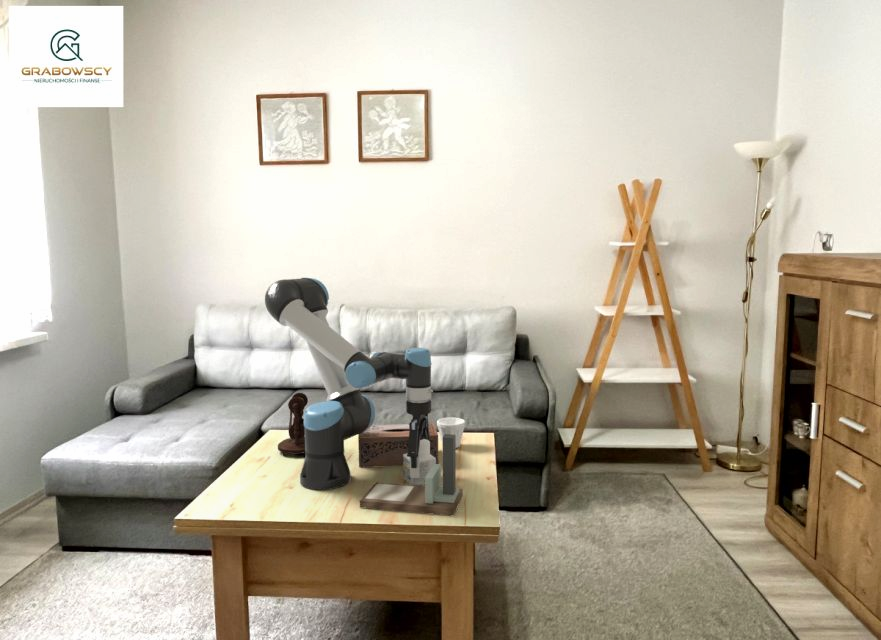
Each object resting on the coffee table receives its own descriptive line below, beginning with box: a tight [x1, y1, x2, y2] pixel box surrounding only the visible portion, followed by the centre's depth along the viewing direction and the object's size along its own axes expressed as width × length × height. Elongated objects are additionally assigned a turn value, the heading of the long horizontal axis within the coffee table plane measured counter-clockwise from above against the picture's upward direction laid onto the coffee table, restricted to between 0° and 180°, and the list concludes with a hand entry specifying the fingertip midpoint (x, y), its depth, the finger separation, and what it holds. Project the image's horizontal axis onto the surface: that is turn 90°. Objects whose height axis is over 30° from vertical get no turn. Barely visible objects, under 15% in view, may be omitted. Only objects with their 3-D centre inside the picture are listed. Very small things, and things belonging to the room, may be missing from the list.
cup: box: [436, 417, 466, 449], centre depth 225 cm, size 10×10×9 cm
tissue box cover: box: [357, 422, 439, 468], centre depth 212 cm, size 26×14×10 cm, turn 96°
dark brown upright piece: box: [277, 392, 309, 457], centre depth 220 cm, size 15×15×20 cm
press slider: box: [424, 434, 460, 504], centre depth 174 cm, size 8×11×17 cm
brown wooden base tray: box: [359, 481, 464, 516], centre depth 177 cm, size 26×14×2 cm, turn 78°
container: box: [402, 437, 436, 486], centre depth 192 cm, size 8×8×13 cm
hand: (419, 471), depth 193 cm, fingers closed on container, 10 cm apart
